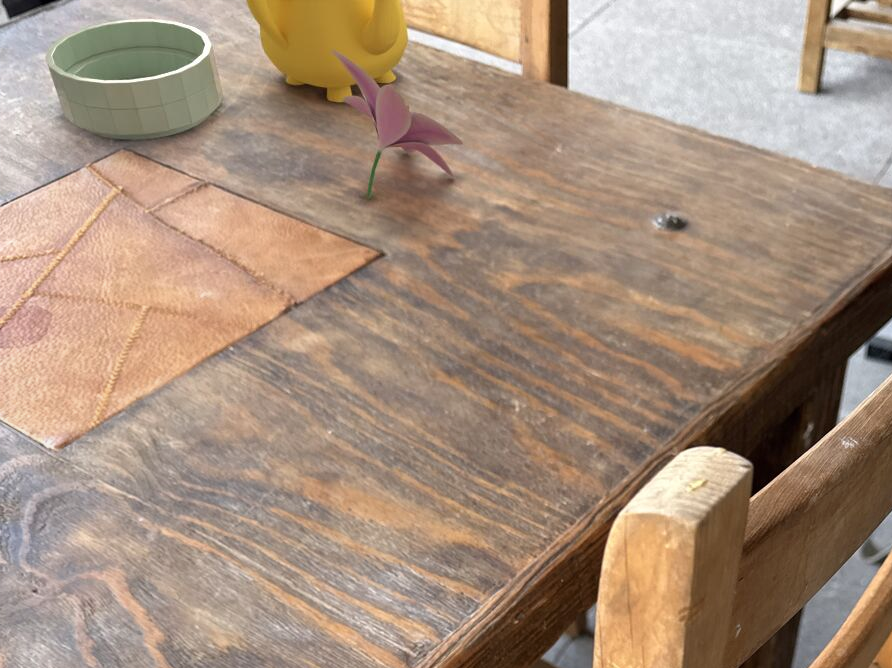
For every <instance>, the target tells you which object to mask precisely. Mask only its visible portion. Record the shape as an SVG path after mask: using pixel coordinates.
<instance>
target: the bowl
mask: <svg viewBox="0 0 892 668" xmlns="http://www.w3.org/2000/svg"><path fill="white" fill-rule="evenodd" d="M44 58H45V61H46V64H47V68H48V70H49V73H50V76H51V80H52V83H53V85H54V89H55V92H56V94H57V98H58V102H59V104H60V107H61V110H62V113H63V116H64V118H66V120H67V121H69V122H71V124H73V125H74V126H76V127H78V128H81V129H84V130H86V131H88V132H89V133H92V134H94V135H96V136H97V135H98V136H100V137H104V138H108V139H116V140H134V141H136V140H149V139H150V140H151V139H159V138H163V137H169V136H172V135H176V134H179V133H182V132H185V131H188V130H191V129H193V128H195V127H196V126H198V125H200V124H202V123H203V122H204V121H206V119H208V118H209V117H210V116H211V114H212V113H213V112H214V111H215V110H216V109H217V108H219V106H221V103H222V99H223V89H222V83H221V79H220V75H219V70H218V66H217V61H216V57H215V52H214V48H213V44H212V42H211V40H210V38H209V36H208V34H206V33H205V32H204V31H201V30H200V29H198V28H197V27H195V26H192V25H188V24H184V23H181V22H178V21H173V20H172V21H171V20H164V19H151V18H150V19H149V18H148V19H145V18H144V19H143V18H141V19H121V20H116V21H106V22H102V23H98V24H94V25H90V26H87V27H82V28H79V29H78V30H75V31H72V32H71V33H68V34H66V35H63V36H62V37H60V38H59V39H58V40H57V41H55V42H54V43H52V44H51V45H50V46H49V48H48V50H47V52H46V54H45V56H44Z"/></svg>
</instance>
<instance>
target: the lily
mask: <svg viewBox="0 0 892 668" xmlns="http://www.w3.org/2000/svg"><path fill="white" fill-rule="evenodd" d="M331 50H332V49H331ZM332 52H333V53H334V55H335V56H336V57H337V58H338V59H339V61H340V62H341V63H342V64H343V65H344V67H345V68H346V69H347V70H348V72H349V73H350V74H351V75H352V77H353V78H354V80H355V82H356V83H357V84H356V85H357V87H358V88H359V90H360V92H361V94H362V96H363V97H361V96H358V95H352V96H347V97H344V98H343V101H344V102H343V103H345V104H347V105H349V106H351V107H353V108H355V109H356V110H358V111H360V112H362V113H363V114H365V115H366V116H368V117H369V118H371V119H372V121H373V125H374V127H375V130H376V131H375V132H376V134H377V137H378V142H379V145H378V150H377V153H376V155H375V158H374V161H373V165H372V168H371V172H370V177H369V182H368V186H367V194H366V198H368V199H371V197H372V196H371V195H372V190H373V184H374V179H375V174H376V170H377V166H378V162H379V160H380V157H381V155H382V153H383V151H384V150H385V149H387V148H401V150H402V151H403V152H404V153H406V154H413V153H415V152H417V151H418V152H419V153H421V154H422V155H424V156H425V157H427V158H428V159H429V160H431V161H432V162H433V163H434V164H436V166H438V167H439V168H441V170H443V171H444V172H445V173H446V174H447V175H449V176H450V177H451V178H452V179H455V176H454V173H453V171H452V170H451V169H450V167H449V165H448V163H446V161H445V159H444V158H443V157H442V155H440V153H438V152H437V150H436V149H434V148H433V147H437V146H445V145H458V146H460V145H464V143H463V141H462V140H461V139H460V138H459V136H457V135H456V134H454V133H453V132H452V131H451V130H449V129H448V128H447V127H446V126H444V125H443V124H442V123H440V122H439V121H436V120H435V119H434V118H432V117H430V116H427V115H426V114H423V113H421V112H416V111H413V110H412V111H410V108H411V107H410V105H409V104H408V105H407V103H406V102H405V100H404V99H403V97H402V96H401V95H400V93H399V92H398V91H397V90H396V89H395V88H394V87H393V86H392V85H390V84H384V85H382V86H381V87H380V86H379V84H378V83H377V82H375V81H374V79H373V78H372V77H371V76H370V75H368V74H367V73H366V72H365V71H364V70H363V69H362V68H360V67H359V66H358V65H356V64H355V63H354V62H352V61H351V60H350V59H348V58H347V57H345V56H344V55H342V54H340V53H339V52H337V51H335V50H332Z"/></svg>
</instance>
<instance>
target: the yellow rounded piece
mask: <svg viewBox="0 0 892 668" xmlns="http://www.w3.org/2000/svg"><path fill="white" fill-rule="evenodd" d="M245 1H246V4H247V7H248V9H249V11H250V14H251V15H252V17H253V18H254V20H255V21H256V23H257V24H258V25H259V36H260V42H261V47H262V49H263V52H264V54H265V55H266V57H267V58H268V60H270V62H271V63H272V64H273V65H274V66H275V68H276V70H278V71H279V72H281V74H283V75H285V76H286V79H285V82H286V83H287V84H288V85H291V86H304V85H306V84H307V85H310V86H315V87H320V88H326V99H327V100H328V101H329V102H333V103H345V102H344V101H343V98H344V97H347V96H353V93H352V88H351V86H354V85H357V83H356V82H355V80H354V78H353V77H352V75H351V74H350V73H349V72H348V70H347V69H346V68H345V67H344V65H343V64H342V63H341V62H340V61H339V59H338V58H337V57H336V56H335V55H334V53H333V52H332V50H335V51H337V52H339V53H340V54H342V55H344V56H345V57H347V58H348V59H350V60H351V61H352V62H354V63H355V64H356V65H358V66H359V67H360V68H362V69H363V70H364V71H365V72H366V73H367V74H368V75H370V76H371V77H372V78H373V79H374V81H375V82H376V83H377V84H388V83H392V82H394V81H395V80H396V79H397V77H396V75H395V74H394V72H393V71H392V70H393V69H394V68H395V67H396V66H397V65H398V64H399V63H400V61H401V59H402V57H403V56H404V53H405V51H406V48H407V46H408V41H409V34H408V26H407V21H406V18H405V17H406V16H405V13H404V10H403V7H402V3H401V1H400V0H245ZM331 49H332V50H331Z"/></svg>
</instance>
